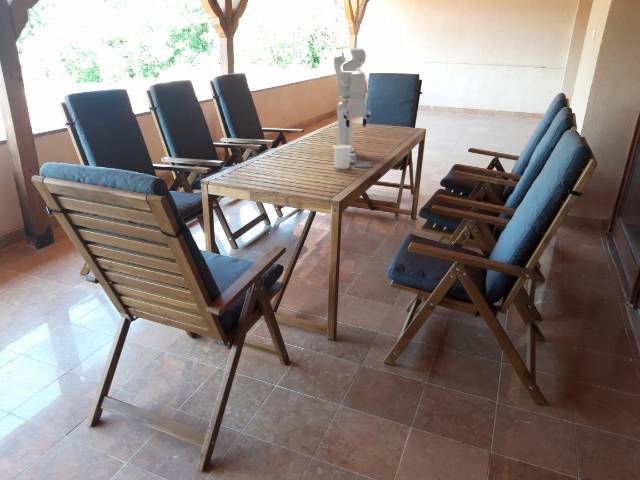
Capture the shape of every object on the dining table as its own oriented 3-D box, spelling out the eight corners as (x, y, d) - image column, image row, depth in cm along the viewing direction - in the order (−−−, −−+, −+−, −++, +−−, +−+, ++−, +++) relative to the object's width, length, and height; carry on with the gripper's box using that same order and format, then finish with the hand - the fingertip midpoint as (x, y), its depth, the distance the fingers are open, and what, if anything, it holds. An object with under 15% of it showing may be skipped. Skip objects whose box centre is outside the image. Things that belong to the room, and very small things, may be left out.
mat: (353, 163, 284) (353, 162, 283) (367, 163, 285) (367, 162, 285) (357, 167, 275) (357, 166, 274) (372, 167, 276) (372, 166, 276)
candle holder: (336, 169, 270) (336, 148, 266) (331, 165, 279) (331, 145, 274) (352, 168, 273) (353, 147, 268) (347, 164, 281) (347, 144, 277)
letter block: (345, 161, 289) (345, 153, 287) (353, 161, 290) (353, 152, 288) (347, 163, 284) (347, 155, 282) (355, 163, 285) (356, 154, 283)
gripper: (369, 94, 273) (368, 125, 280) (340, 95, 270) (339, 125, 277) (373, 96, 267) (372, 127, 273) (343, 96, 263) (342, 128, 270)
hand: (355, 126), depth 275 cm, fingers open, 9 cm apart
